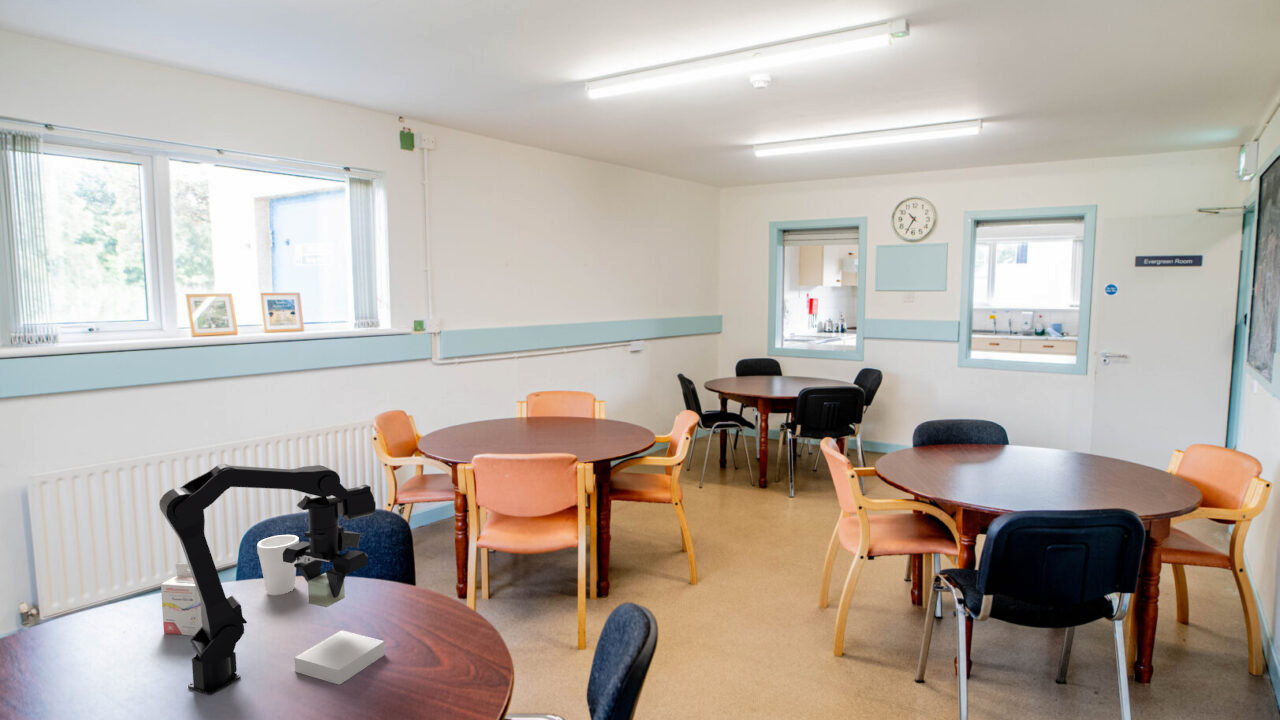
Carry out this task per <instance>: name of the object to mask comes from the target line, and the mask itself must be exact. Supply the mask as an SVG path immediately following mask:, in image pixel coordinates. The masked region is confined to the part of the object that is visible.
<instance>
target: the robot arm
mask: <svg viewBox="0 0 1280 720" xmlns="http://www.w3.org/2000/svg"><path fill="white" fill-rule="evenodd" d="M230 488H247V489H248V488H251V489H276V490H293V491H297V492H301V493H305V494H308V495H312V496H315V497H313V498H311V497H310V496H308V495H304V497H303V498H302V500H300V501H299V502H297V504H296V506H297V508H300V509H301V510H302V511H306V510H307V511H308V530H307V531H305V532H304V538H308V539H309V542H308V541H305V540H304V541H303V540H302V541H299V543H297V544H295V545H292V546H290V547H287V548H286V549H285V550H284V552H283V562H287V563H294V562H295V561H296V560H297V563H296V564H294V567H296V570H297V571H299V573H300V574H301V575H302V577H303V578H304V579H305V581H306V583H307V584H308V581H309V580H311V579H313V578H315V577H318V576H320V575H322V574H321V573H322V572H321V571H322V569H321V567H322V565H323V563H324V562H327V563H332V568H331V569H328V570H325V573H326V575H327V578H328V582H329V585H330V589H331V592H332V595H333V597H334V598H336V597H338V596H339V594H340V591H341V588H342V585H343V582H344V583H345V579H346V577H347V574H351V573H353V572H355V571H357V570H360V569H361V568H363V567H366V566H368V565H369V557H368V554H367V553H366V552H365V551H361V550H360V551H359V550H355V549H357V548H359V543H360V539H361V537H362V536H361V535H362V533H360V532H354V531H348V530H345V528H344V527H343V526H341V525H339V517H343V519H344V520H346V521H350V520H355V519H359V518H363V517H367V516H372V515H374V514H375V512H376V508H377V504H376V501H375V498H374V495H373V492H372V490H371V486H370V485H368V484H363V485H360V486H357V487H351V488H345V487H344V485H343V484H342V483H341V477H340V475H339V473H338V472H336V471H335V470H333V469H330V468H328V467H326V466H324V465H320V464H319V465H318V464H317V465H309V466H307V465H306V466H301V467H296V468H275V467H274V468H272V467H261V466H260V467H259V466H257V467H256V466H243V465H231V464H230V465H229V464H226V463H219V464H217V465H216V466H214V467H213V468H212V469H210V470H208V471H207V472H206V473H203V474H201V475H199V476H197V477H195V478H193V479H191V480H189V481H188V482H187V483H185V484H183V485H182V486H180V487H176V488H172V489H169V490H168V491H166V492H165V493H164V494H163V495H162V497H161V498H160V499H159V503H158V504H159V505H158V506H159V510H160V512H161V513H162V514H163V516H164V518H165V519H166V521H167V523H168V524H169V526H170V527H171V529H172V530H173V531H174V533H175V535H176V536H177V537H178V539H179V542H180V544H181V547H182V550H183V553H184V556H185V559H186V561H187V562H186V563H187V564H188V565H189V568H190V569H189V571H191V573H192V576H193V579H194V582H195V585H196V588H197V591H198V593H199V596H200V599H201V619H202V627H201V628H200V629H199V631H198V632H197V633H196V634H195V635H192V638H191V639H189V642H190V644H191V647H192V648H193V650H195V652H196V654H195V656H194V657H192V658H191V665H192V668H191V669H192V682H190V683H189V684H188V686H187V687H188V689H191V690H195V691H197V692H200V693H202V694H206V695H213V694H214V693H216V692H217V691H219V690H221V689H223V688H225V687H227V686H229V685H230V684H232V683H234V682H235V681H237V680H239V679H241V674H239V673H237V670H238V669H237V654H236V653H237V652H236V651H235V648H236V645H237V643H238V642H239V641H240V640H241V638H242V637H243V635H244V633H245V625H244V624H248V622H247V620H246V619H245V618H244V617H243V610H242V609H243V608H242V606H241V603H239V601H238V600H237V599H236V598H235V596H234V595H231V596H229V597H228V598H227V597H226V593H225V590H224V589H223V585H222V583H221V579H220V576H219V574H218V570H217V567H216V564H215V561H214V558H213V555H212V552H211V550H210V547H209V544H208V541H207V539H206V535H205V525H206V523H205V522H206V519H205V511H204V510H205V509H207V508H209V507H210V506H211V505H212V504H213V503H215V502H216V500H218V499H219V498H220V497H221V496H222V495H223V494H224V493H225V492H226V491H227V490H229V489H230ZM329 497H330V498H329ZM352 547H353V548H355V549H354V550H353V549H351V550H349V551H346V550H347V548H352ZM344 551H346V552H345V553H343V554H342V553H341V554H340V552H344Z"/></svg>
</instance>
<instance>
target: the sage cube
mask: <svg viewBox="0 0 1280 720" xmlns="http://www.w3.org/2000/svg"><path fill="white" fill-rule="evenodd" d="M307 589H308V590H307V591H308V604H310V605H314V606H318V607H319V606H320V607H322V608H328V607H330V606H333V605H334V604H336V603H338V602H339V601H341V600H343V599H345V597H346V593H345V592H346V590H345V581H344V582H343V585H342V588H341V591H340V594H339V596H338V597H336V598H334V597H333V595H332V592H331V589H330V585H329V582H328V578H327V575H326V572H324V573H322V574H321V575H320V576H318V577H315V578H313V579H311V580H309V581H308V583H307Z"/></svg>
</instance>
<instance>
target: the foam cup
mask: <svg viewBox="0 0 1280 720" xmlns="http://www.w3.org/2000/svg"><path fill="white" fill-rule="evenodd" d="M297 543H300V538H299V536H297V535H295V534H282V535H281V534H280V535H278V534H277V535H273V536H270V537H267V538H264V539H261V540H260V541H258V542H257V545H256V549H257V551H256V552H257V556H258V558H259V559H258V560H259V562H260V567H261V572H262V576H263V581H264V586H265V591H266V594H267V595H268V596H282V595H286V594H288V592H289V593H291V592H292V591H294V590H295V586H296V575H297V568H296V567H294V564H296V563H297V560H296V561H295V562H294V563H287V562H283V552H284V550H285V549H286V548H287V547H290V546H292V545H295V544H297ZM293 589H294V590H293ZM290 591H291V592H290ZM285 593H286V594H285Z"/></svg>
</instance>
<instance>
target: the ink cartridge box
mask: <svg viewBox="0 0 1280 720" xmlns="http://www.w3.org/2000/svg"><path fill="white" fill-rule="evenodd" d="M188 569H189V570H188ZM175 570H176V576H173V577H172V578H170V579H167V580H166V581H164V582H162V583H161V584H160V587H161V589H160V590H161V591H160V592H161V607H162V622H163V623H162V624H163V633H164V634H167V635H182V636H183V635H184V636H194V635H195V634H196V633H197V632H198V631H199V629H200V628H201V627H202V619H201V599H200V596H199V593H198V591H197V588H196V585H195V582H194V579H193V576H192V573H191V571H190V568H189V565H188V563H180V562H179V563H176V564H175Z"/></svg>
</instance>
